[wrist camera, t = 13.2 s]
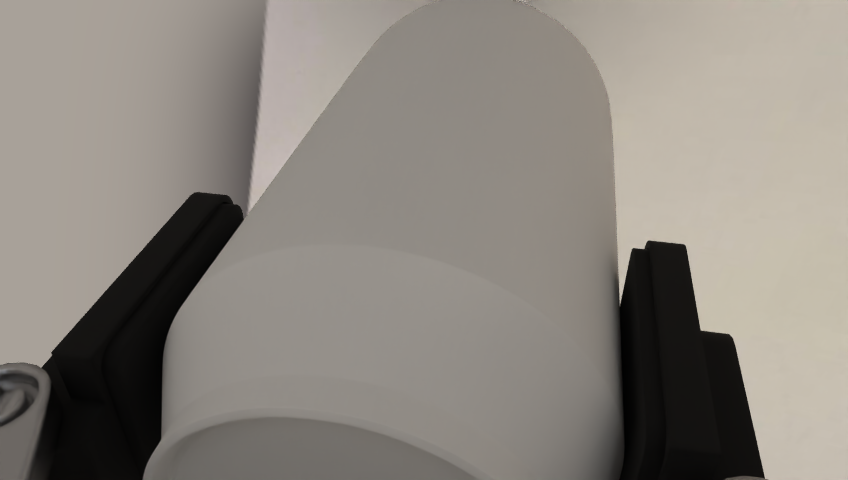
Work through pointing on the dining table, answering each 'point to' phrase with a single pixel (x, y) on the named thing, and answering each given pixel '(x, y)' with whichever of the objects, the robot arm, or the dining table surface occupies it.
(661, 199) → the dining table surface
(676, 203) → the dining table surface
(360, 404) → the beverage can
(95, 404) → the robot arm
